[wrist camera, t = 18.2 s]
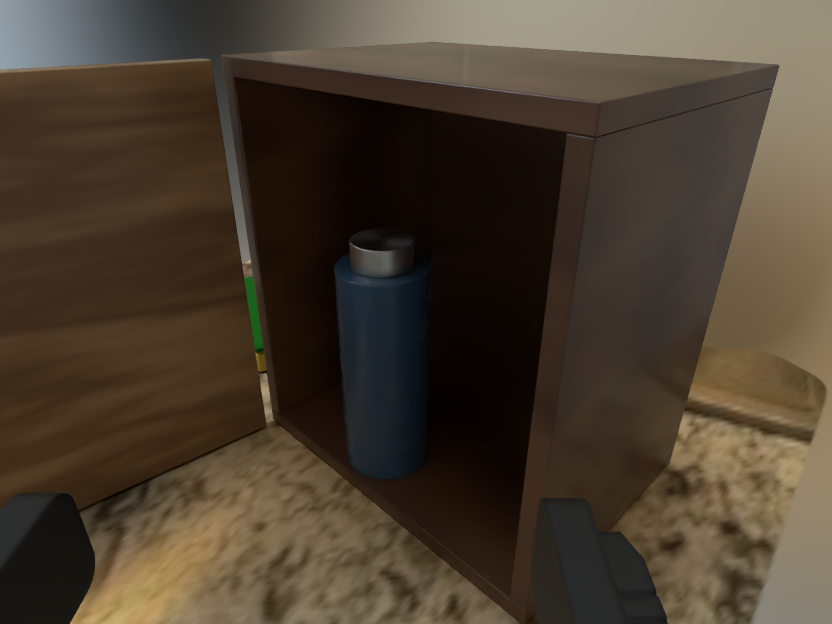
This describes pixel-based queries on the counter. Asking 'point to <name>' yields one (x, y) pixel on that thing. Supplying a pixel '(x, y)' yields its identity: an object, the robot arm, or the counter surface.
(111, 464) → the cupboard door
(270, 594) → the counter surface
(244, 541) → the counter surface
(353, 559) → the counter surface
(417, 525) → the cupboard
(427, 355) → the water bottle
